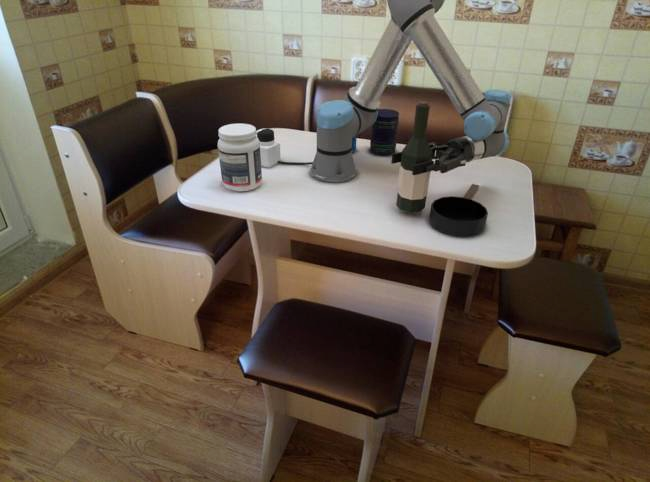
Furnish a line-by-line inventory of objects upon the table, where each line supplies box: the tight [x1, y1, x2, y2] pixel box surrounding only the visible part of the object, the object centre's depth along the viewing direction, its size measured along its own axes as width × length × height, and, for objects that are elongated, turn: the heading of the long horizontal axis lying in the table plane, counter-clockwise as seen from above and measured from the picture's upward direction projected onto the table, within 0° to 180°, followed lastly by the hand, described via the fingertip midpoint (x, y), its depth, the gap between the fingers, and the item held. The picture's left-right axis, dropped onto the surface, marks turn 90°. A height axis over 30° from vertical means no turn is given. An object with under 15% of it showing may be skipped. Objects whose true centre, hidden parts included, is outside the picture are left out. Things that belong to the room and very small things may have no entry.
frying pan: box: [428, 183, 489, 238], centre depth 130 cm, size 26×15×5 cm, turn 150°
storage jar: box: [369, 108, 400, 157], centre depth 169 cm, size 10×10×15 cm
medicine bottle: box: [256, 127, 282, 169], centre depth 159 cm, size 7×7×12 cm
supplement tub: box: [217, 123, 263, 192], centre depth 142 cm, size 13×13×18 cm
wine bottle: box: [395, 100, 433, 214], centre depth 124 cm, size 8×8×30 cm
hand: (402, 164), depth 122 cm, fingers closed on wine bottle, 8 cm apart
